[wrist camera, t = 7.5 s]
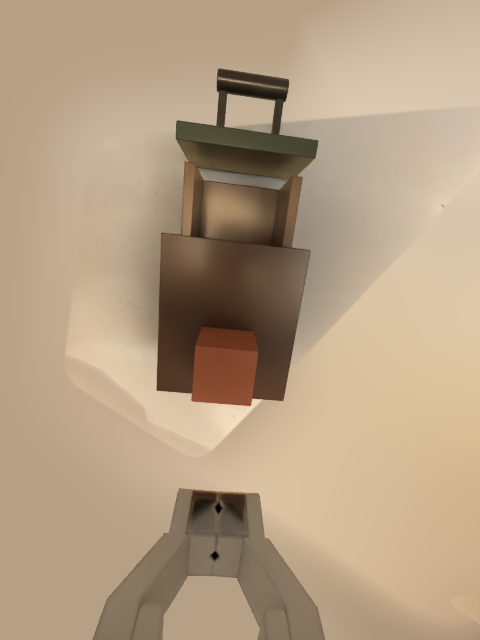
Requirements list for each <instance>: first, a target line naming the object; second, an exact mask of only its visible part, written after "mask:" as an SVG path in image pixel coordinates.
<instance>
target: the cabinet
mask: <svg viewBox="0 0 480 640" xmlns="http://www.w3.org/2000/svg"><path fill="white" fill-rule="evenodd" d="M309 256H310V250H304V249H297V248H286V247H278V246H269V245H261V244H252V243H243V242H235V241H226V240H218V239H209V238H201V237H192V236H184V235H180V234H168V233H161V262H160V295H159V329H158V362H157V391H168V392H180V393H192V385H193V371H194V357H195V346H196V343H197V340H198V337H199V334H200V331H201V328H202V327H212V328H222V329H232V330H243V331H253V332H254V336H255V340H256V344H257V349H258V359H257V366H256V373H255V380H254V387H253V394H252V398H253V399H265V400H277V401H283V400H284V394H285V389H286V383H287V378H288V372H289V367H290V361H291V356H292V350H293V345H294V339H295V333H296V328H297V322H298V317H299V311H300V306H301V300H302V295H303V289H304V283H305V278H306V272H307V267H308V261H309Z"/></svg>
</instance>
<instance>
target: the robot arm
mask: <svg viewBox="0 0 480 640" xmlns="http://www.w3.org/2000/svg"><path fill="white" fill-rule="evenodd" d="M212 575H213V576H219V577H233V578H238V582H239V584H240V586H241V588H242V591H243V593H244V595H245V597H246V599H247V601H248V604H249V606H250V608H251V610H252V612H253V614H254V616H255V619H256V621H257V623H258V625H259V628H260V630H259V636H258V640H325V637H324V633H323V629H322V624H321V620H320V616H319V612H318V608H317V606H316V605H315V603H314V602H313V601H312V599H311V598H310V596H309V595H308V594H307V592H306V591H305V589H304V588H303V586H302V585H301V584H300V582H299V581H298V580H297V578H296V576H295V575H294V574H293V572H292V571H291V570H290V568H289V567H288V565H287V564H286V562H285V561H284V559H283V558H282V557H281V555H280V554H279V552H278V551H277V550H276V548H275V547H274V545H273V544H272V542H271V541H270V540H269V539H267V538H265V537H264V528H263V519H262V512H261V502H260V496H259V494H258V493H243V492H222V491H221V492H216V491H205V490H192V489H180V488H179V491H178V493H177V498H176V503H175V508H174V512H173V517H172V521H171V526H170V531H169V533H164V535H163V536H162V537H161V538H160V539H159V540H158V541H157V543H156V544H155V545H154V546H153V547H152V548H151V549H150V550H149V552H148V553H147V554H146V555H145V556H144V557H143V558H142V560H141V561H140V562H139V563H138V564H137V565H136V567H135V568H134V569H133V570H132V571H131V572H130V573H129V574H128V576H127V577H126V578H125V579H124V580H123V581H122V582H121V584H120V585H119V586H118V587H117V588H116V589H115V590H114V592H113V593H112V594H111V595H110V596H109V597H108V599H107V600H106V603H105V606H104V609H103V612H102V614H101V617H100V620H99V623H98V626H97V628H96V631H95V634H94V637H93V640H163V622H164V614H165V613H166V611H167V609H168V608H169V606H170V604H171V603H172V601H173V600H174V598H175V596H176V595H177V593H178V591H179V590H180V588H181V586H182V585H183V583H184V581H185V580H186V578H187V576H212Z"/></svg>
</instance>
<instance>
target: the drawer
mask: <svg viewBox="0 0 480 640" xmlns="http://www.w3.org/2000/svg"><path fill="white" fill-rule="evenodd" d="M288 87H289V80H288V79H283V78H277V77H271V76H264V75H257V74H251V73H245V72H239V71H232V70H225V69H218V74H217V92H219V100H218V114H217V126H213V125H206V124H199V123H191V122H185V121H177V122H176V140H177V142H178V143H179V145H180V147H181V149H182V151H183V152H184V154H185V156H186V158H187V160H188V161H189V162H186V161H185V167H184V187H183V207H182V227H181V235H184V236H192V237H201V238H209V239H218V240H226V241H235V242H243V243H252V244H261V245H269V246H278V247H286V248H291V246H292V240H293V234H294V228H295V221H296V215H297V209H298V203H299V197H300V190H301V184H302V177H298V176H297V175H298V174H299V173H300V172H301V171H302V170H303V169H304V168H306V167H307V166H308V165H309V164H310V163H311V162H312V161H313V160H314V159H315V158H316V152H317V147H318V140H312V139H305V138H298V137H291V136H284V135H279V131H280V124H281V116H282V108H283V102H285V101H286V98H287V93H288ZM227 94H233V95H240V96H246V97H253V98H260V99H267V100H274V101H275V109H274V116H273V124H272V132H271V134H270V133H262V132H255V131H248V130H241V129H234V128H227V127H224V125H225V113H226V101H227ZM197 167H201V168H209V169H217V170H224V171H232V172H239V173H247V174H254V175H262V176H269V177H277V178H285V179H289V180H288V181H287V182H286V183H285V184H284V185H283V186H282V187H281V188H280V190H274V189H266V188H258V187H250V186H243V185H235V184H227V183H220V182H212V181H204V180H203V178H202V176H201V174H200V172H199V170H198V168H197Z"/></svg>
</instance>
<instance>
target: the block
mask: <svg viewBox="0 0 480 640" xmlns="http://www.w3.org/2000/svg"><path fill="white" fill-rule="evenodd" d="M257 359H258V349H257V344H256V340H255V336H254V332H253V331H243V330H232V329H222V328H212V327H202V328H201V331H200V334H199V337H198V340H197V343H196V346H195V357H194V371H193V385H192V399H191V400H192V401H194V402H207V403H219V404H232V405H244V406H251V401H252V394H253V387H254V380H255V373H256V366H257Z"/></svg>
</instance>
